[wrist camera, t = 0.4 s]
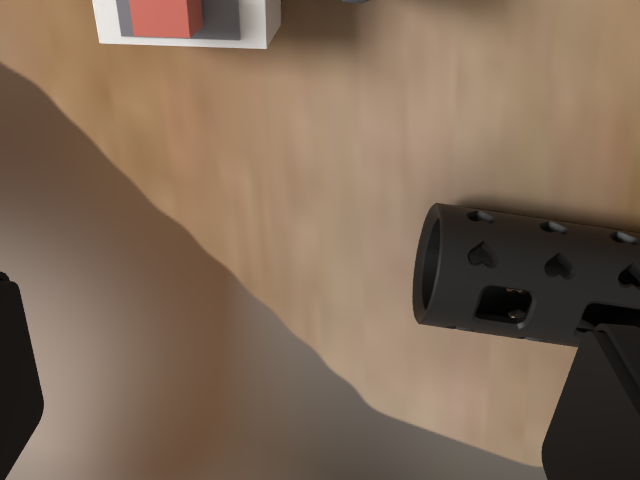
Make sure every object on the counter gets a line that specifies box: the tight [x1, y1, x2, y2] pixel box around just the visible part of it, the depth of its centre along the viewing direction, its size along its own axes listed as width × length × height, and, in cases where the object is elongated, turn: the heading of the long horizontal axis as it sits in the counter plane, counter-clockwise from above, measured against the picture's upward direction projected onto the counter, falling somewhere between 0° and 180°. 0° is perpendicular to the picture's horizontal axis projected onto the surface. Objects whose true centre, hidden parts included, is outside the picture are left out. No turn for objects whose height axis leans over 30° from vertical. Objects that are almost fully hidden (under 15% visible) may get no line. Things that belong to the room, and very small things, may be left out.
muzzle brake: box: [413, 203, 640, 347], centre depth 44 cm, size 10×28×10 cm, turn 83°
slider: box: [129, 0, 203, 38], centre depth 32 cm, size 2×3×3 cm
